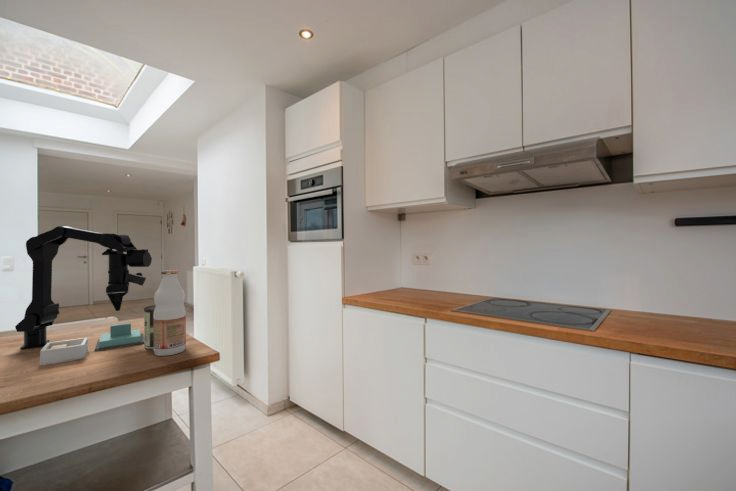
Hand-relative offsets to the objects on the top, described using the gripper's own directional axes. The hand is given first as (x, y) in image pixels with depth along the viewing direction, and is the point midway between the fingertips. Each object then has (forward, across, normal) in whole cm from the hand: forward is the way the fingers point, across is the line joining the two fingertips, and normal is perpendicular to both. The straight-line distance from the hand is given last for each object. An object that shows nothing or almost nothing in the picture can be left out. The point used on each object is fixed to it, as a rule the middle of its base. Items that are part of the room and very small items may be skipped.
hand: (118, 308), depth 118 cm
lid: (+12, 0, -1) cm, 12 cm away
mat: (+13, 0, -1) cm, 13 cm away
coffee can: (+13, -12, -13) cm, 22 cm away
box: (+13, -9, +13) cm, 21 cm away
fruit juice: (+13, -23, -15) cm, 30 cm away
